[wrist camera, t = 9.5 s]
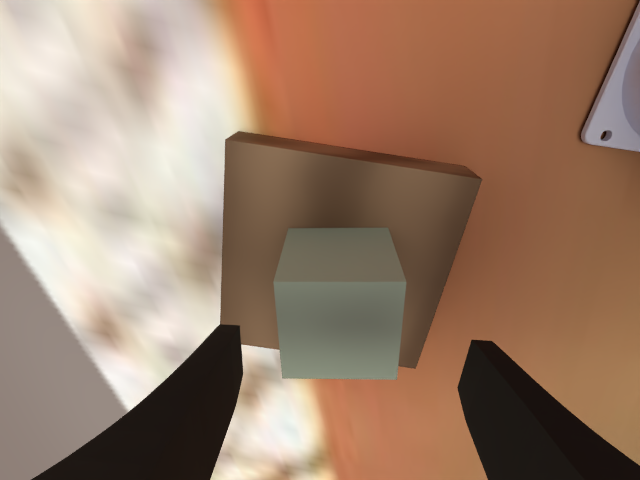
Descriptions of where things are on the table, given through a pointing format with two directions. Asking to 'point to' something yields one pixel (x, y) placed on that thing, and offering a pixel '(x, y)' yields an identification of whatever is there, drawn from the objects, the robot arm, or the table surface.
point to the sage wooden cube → (339, 304)
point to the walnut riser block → (336, 223)
